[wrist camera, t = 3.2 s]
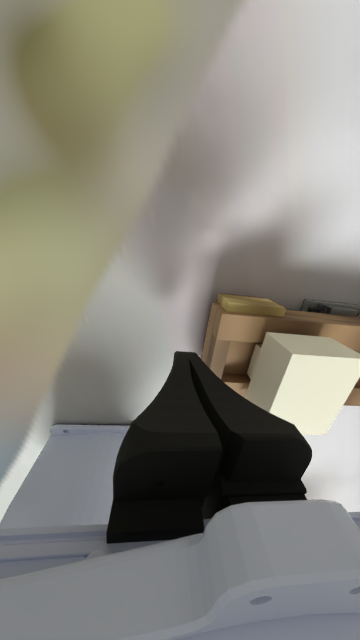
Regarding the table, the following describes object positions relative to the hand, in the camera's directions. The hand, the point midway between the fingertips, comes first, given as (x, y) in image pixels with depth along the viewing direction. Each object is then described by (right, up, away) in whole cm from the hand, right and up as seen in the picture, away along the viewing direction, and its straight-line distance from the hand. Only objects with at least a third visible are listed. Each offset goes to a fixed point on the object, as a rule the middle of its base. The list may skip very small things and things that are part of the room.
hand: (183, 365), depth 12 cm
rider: (+7, 0, +2) cm, 7 cm away
